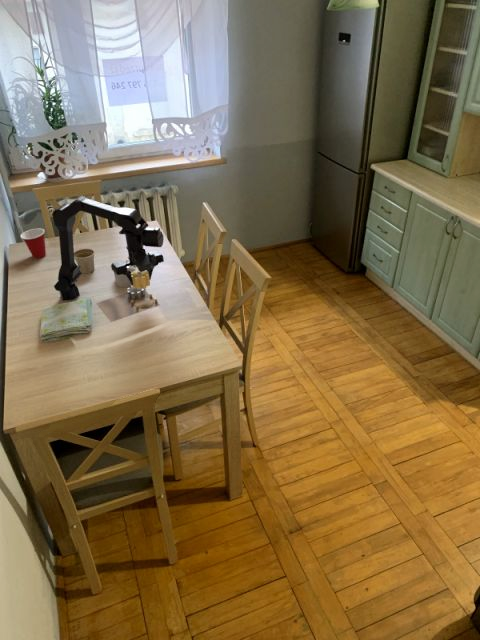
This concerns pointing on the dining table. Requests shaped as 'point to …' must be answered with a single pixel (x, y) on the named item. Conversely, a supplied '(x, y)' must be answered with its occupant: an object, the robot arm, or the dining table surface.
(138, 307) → the board
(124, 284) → the grey paw block
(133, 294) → the gear
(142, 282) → the loose gear
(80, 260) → the flower pot
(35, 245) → the plastic cup
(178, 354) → the dining table surface
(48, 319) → the towel
